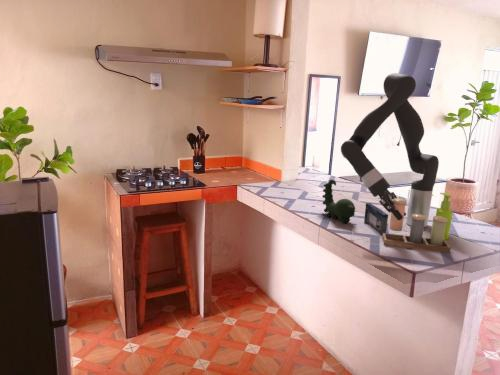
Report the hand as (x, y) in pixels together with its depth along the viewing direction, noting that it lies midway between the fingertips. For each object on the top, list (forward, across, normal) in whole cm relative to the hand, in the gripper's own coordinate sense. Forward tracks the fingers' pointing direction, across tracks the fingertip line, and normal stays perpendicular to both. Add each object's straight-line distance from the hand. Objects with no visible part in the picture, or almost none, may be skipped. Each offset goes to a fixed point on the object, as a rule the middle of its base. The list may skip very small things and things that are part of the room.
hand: (402, 217), depth 148 cm
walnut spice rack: (+12, +3, +5) cm, 14 cm away
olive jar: (+16, +5, -1) cm, 17 cm away
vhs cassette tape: (-1, +15, +19) cm, 24 cm away
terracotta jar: (+2, 0, +5) cm, 6 cm away
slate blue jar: (+11, +3, +4) cm, 12 cm away
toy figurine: (-14, +19, +32) cm, 40 cm away
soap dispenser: (+17, +20, 0) cm, 26 cm away
